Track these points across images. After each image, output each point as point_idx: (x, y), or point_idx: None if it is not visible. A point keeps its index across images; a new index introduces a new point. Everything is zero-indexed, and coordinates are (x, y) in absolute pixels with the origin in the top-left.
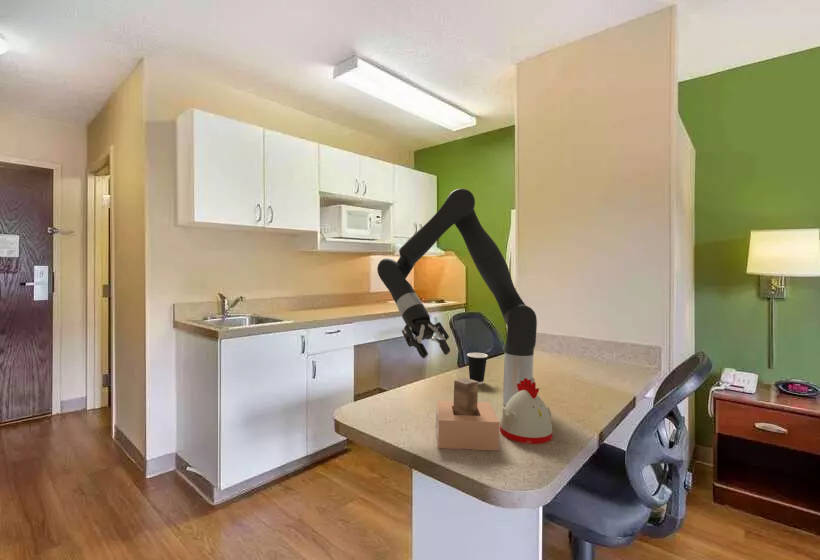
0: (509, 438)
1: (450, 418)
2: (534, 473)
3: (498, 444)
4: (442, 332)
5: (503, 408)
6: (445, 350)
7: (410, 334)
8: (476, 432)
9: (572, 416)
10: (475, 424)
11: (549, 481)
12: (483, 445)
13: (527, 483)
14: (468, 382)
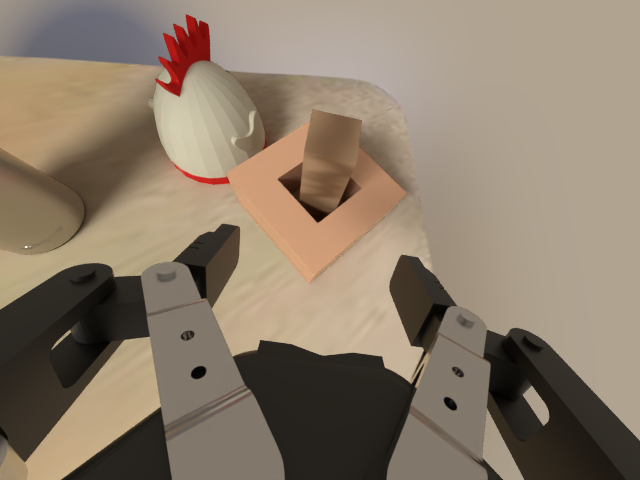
0: None
1: (382, 182)
2: (342, 94)
3: None
4: (53, 338)
5: (236, 140)
6: (232, 252)
7: (601, 416)
8: None
9: (59, 107)
10: None
11: (346, 78)
12: None
13: (370, 93)
14: (342, 123)
